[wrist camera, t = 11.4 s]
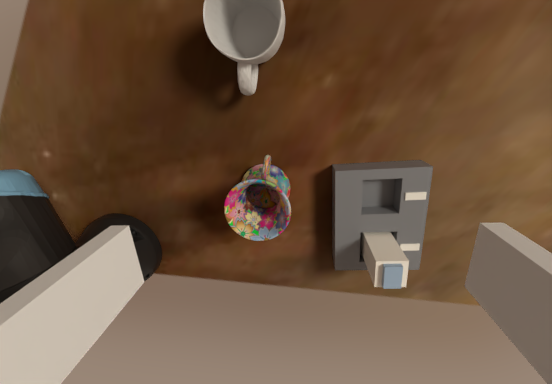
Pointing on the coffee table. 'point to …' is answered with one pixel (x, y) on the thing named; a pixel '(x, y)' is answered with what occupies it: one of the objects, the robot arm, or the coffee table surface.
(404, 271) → the plug
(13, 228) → the robot arm
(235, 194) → the mug
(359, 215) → the panel
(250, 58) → the mug
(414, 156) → the coffee table surface
